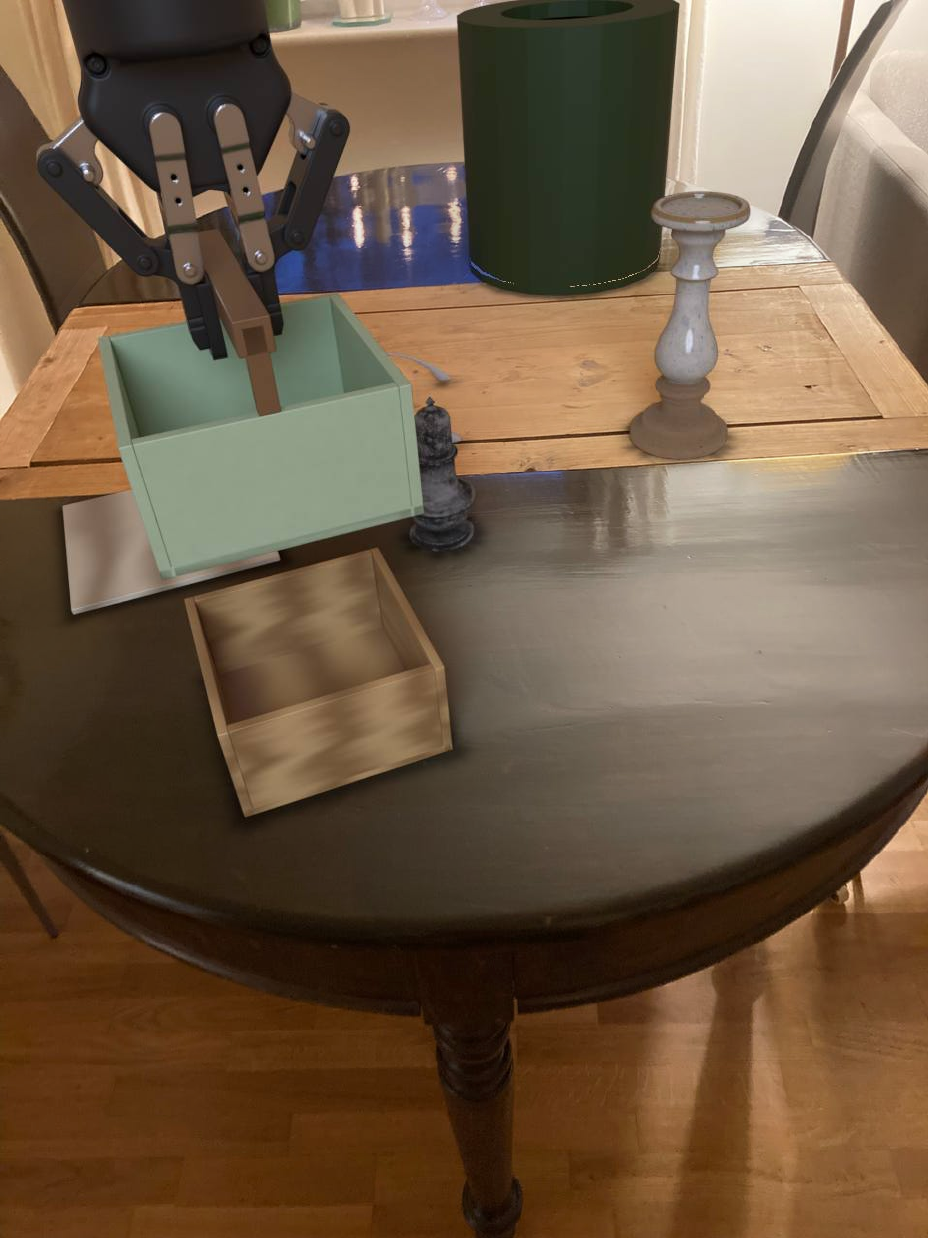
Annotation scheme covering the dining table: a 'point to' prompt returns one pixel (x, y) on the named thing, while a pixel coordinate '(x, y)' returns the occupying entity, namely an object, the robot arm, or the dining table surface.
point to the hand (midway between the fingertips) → (241, 347)
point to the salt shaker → (440, 485)
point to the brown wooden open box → (318, 679)
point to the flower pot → (566, 139)
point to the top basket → (260, 427)
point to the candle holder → (688, 329)
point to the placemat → (121, 555)
